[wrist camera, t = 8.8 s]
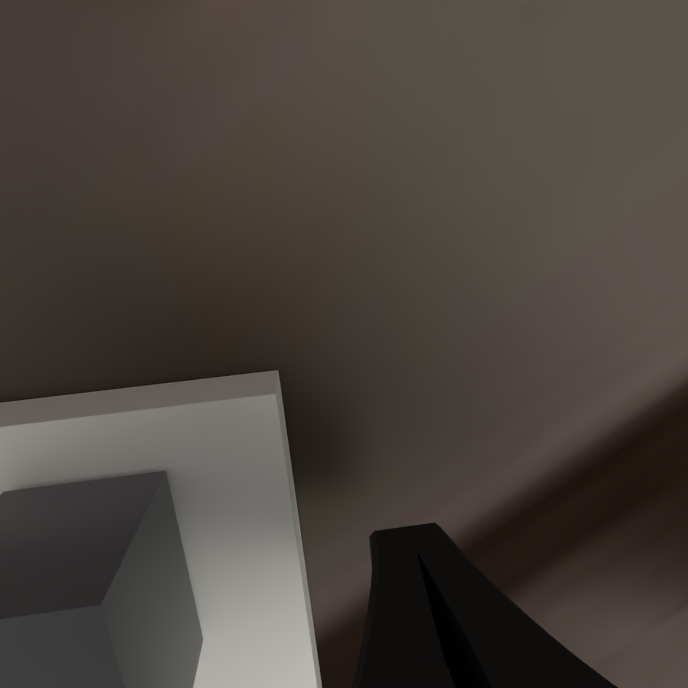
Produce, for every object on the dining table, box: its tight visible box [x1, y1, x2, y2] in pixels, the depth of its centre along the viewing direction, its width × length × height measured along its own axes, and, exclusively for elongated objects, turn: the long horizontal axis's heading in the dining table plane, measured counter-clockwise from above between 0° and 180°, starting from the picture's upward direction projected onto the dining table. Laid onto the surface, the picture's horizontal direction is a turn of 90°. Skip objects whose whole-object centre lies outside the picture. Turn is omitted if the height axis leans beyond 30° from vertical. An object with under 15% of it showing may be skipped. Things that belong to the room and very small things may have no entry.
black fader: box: [0, 471, 203, 688], centre depth 9 cm, size 4×3×4 cm
